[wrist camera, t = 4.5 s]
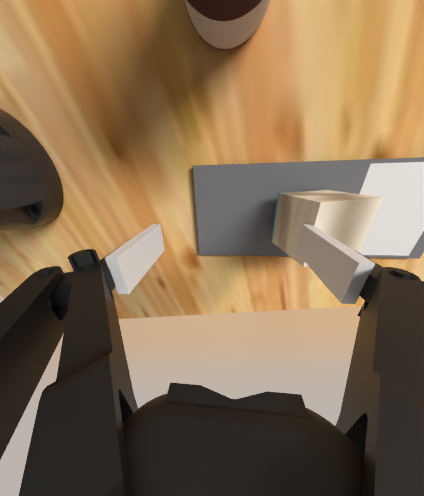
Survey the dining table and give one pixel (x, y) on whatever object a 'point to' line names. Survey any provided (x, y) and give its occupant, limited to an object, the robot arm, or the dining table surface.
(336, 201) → the birch cube
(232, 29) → the coffee cup
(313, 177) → the charcoal mat
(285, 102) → the dining table surface
